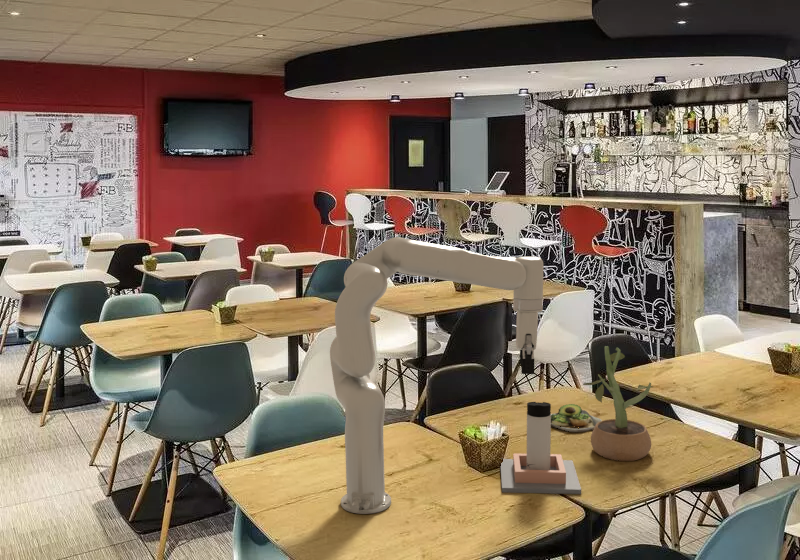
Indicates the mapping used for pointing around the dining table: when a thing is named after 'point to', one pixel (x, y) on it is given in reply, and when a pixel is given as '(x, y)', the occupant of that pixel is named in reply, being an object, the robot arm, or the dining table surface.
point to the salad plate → (573, 419)
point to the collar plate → (539, 476)
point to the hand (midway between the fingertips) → (526, 369)
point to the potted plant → (619, 420)
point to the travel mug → (538, 435)
